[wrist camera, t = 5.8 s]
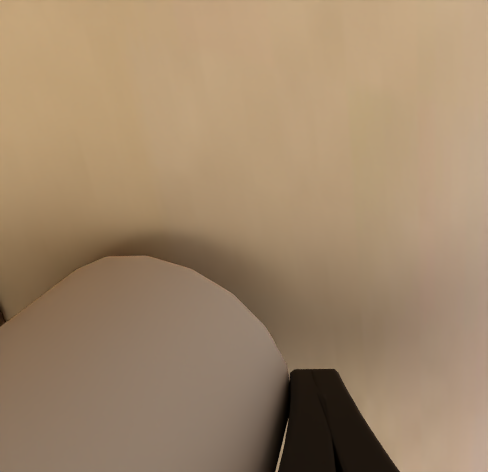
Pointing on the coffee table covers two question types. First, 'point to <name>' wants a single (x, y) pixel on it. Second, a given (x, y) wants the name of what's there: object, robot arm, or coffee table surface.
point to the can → (140, 376)
